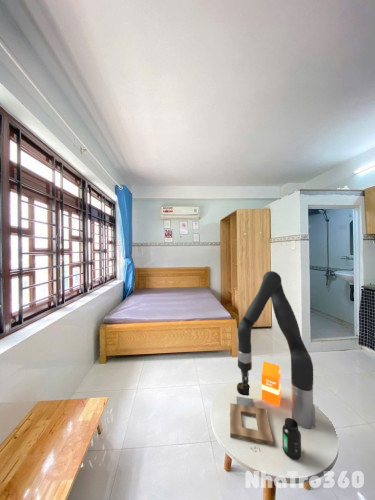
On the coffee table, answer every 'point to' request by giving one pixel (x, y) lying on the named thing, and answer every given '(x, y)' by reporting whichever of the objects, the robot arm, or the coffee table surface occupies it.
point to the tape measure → (240, 388)
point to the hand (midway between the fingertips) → (244, 388)
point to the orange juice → (271, 383)
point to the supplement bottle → (291, 439)
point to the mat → (245, 401)
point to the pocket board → (248, 434)
